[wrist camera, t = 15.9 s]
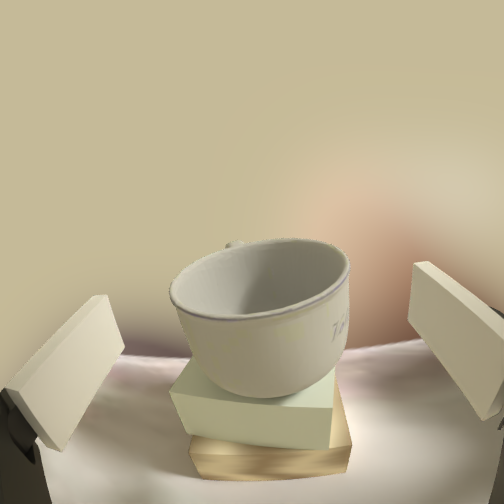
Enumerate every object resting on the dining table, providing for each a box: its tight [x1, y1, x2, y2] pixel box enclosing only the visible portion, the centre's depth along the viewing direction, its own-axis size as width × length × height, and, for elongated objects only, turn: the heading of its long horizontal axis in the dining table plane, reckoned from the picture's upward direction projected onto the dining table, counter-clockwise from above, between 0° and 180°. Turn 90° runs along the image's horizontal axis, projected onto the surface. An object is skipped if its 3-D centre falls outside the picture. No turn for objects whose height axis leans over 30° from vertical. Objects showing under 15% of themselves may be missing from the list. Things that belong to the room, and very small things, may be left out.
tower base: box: [188, 377, 352, 481], centre depth 24 cm, size 12×12×5 cm
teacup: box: [169, 238, 350, 398], centre depth 20 cm, size 14×11×8 cm
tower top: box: [169, 355, 335, 450], centre depth 23 cm, size 11×11×5 cm
